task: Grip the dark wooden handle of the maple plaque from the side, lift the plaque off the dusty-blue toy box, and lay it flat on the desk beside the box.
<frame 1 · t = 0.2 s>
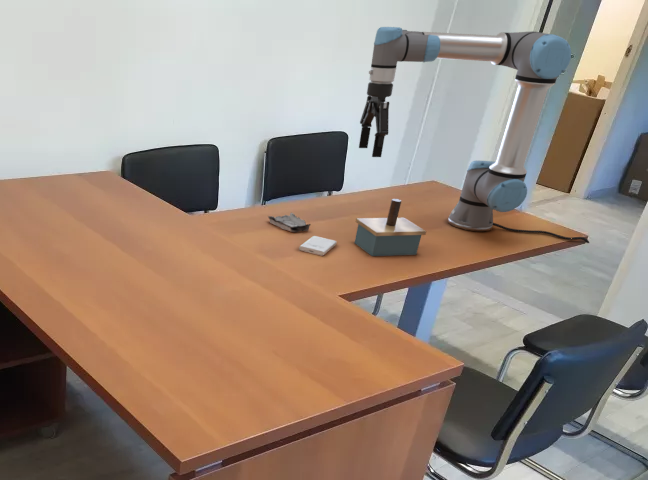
hand: (369, 152, 230), 27 cm above the table, tool pointing down, fingers open, 13 cm apart
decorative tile: (288, 227, 246), on the table
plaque: (389, 228, 228), point 7 cm above the table, touching toy box
hard drive: (317, 248, 229), on the table
toy box: (384, 248, 232), on the table
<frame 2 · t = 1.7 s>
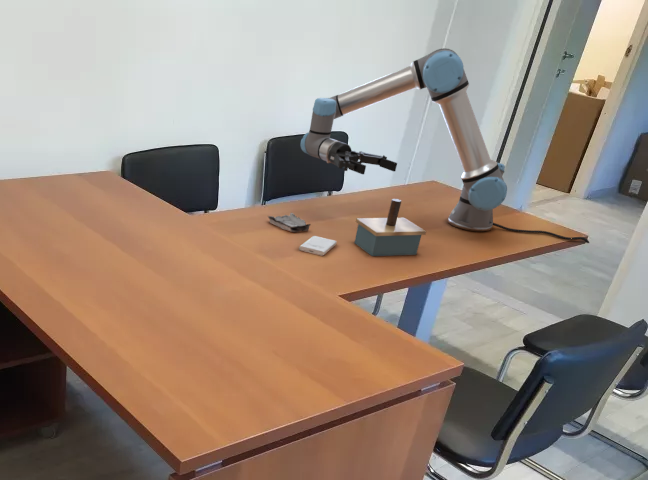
hand: (380, 168, 227), 24 cm above the table, tool horizontal, fingers open, 13 cm apart
nothing on the table moved.
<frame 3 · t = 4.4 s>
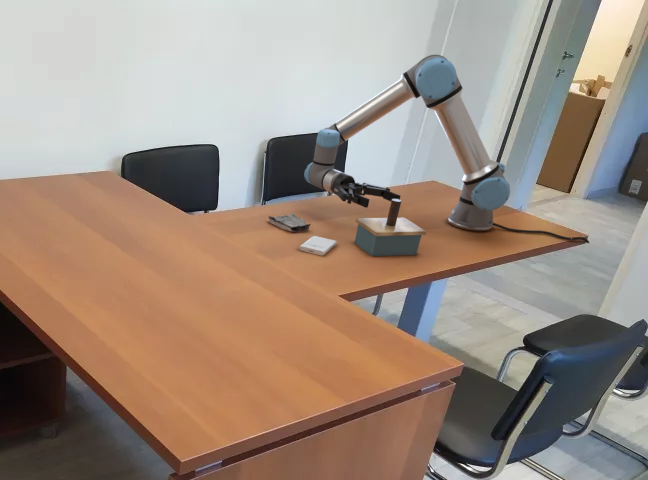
hand: (383, 201, 228), 14 cm above the table, tool horizontal, fingers open, 13 cm apart
nothing on the table moved.
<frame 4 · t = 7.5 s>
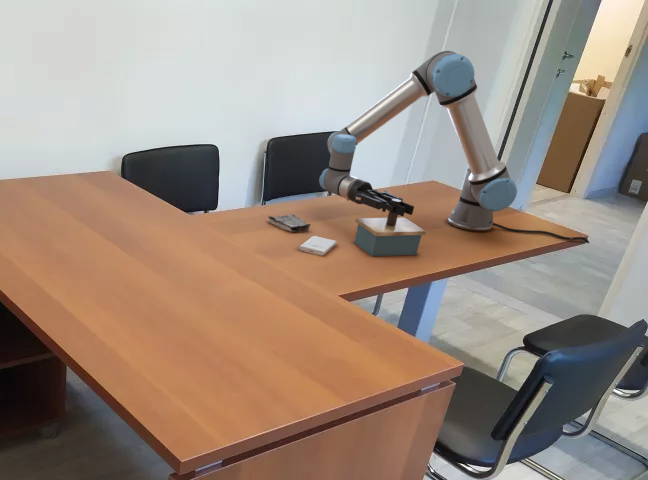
hand: (407, 211, 220), 14 cm above the table, tool horizontal, fingers closed on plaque, 3 cm apart
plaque: (389, 228, 228), point 7 cm above the table, touching gripper, toy box
everything else where it was.
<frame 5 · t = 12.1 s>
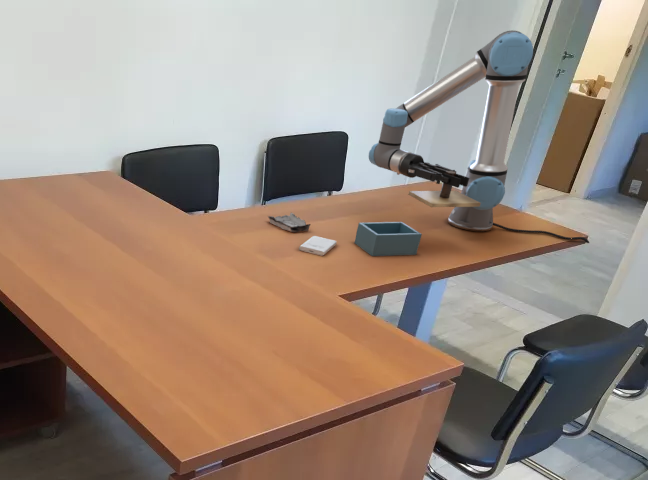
hand: (463, 182, 222), 23 cm above the table, tool horizontal, fingers closed on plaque, 3 cm apart
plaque: (443, 200, 229), point 15 cm above the table, touching gripper
everything else where it was.
when the fingers open (7 cm above the table, at t = 16.8 s): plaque stays where it is, on the table.
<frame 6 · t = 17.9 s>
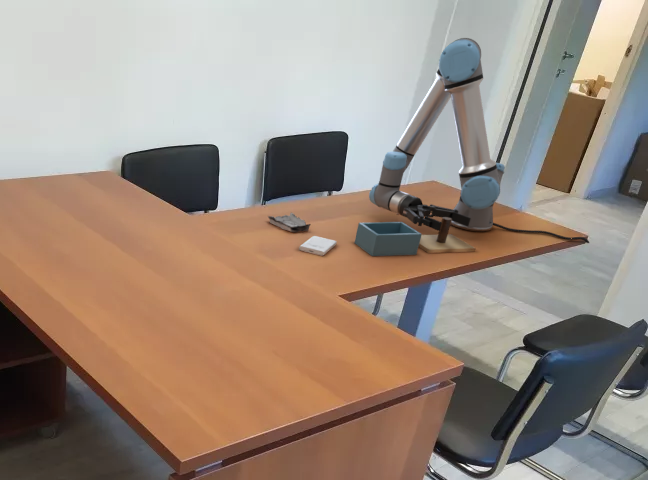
hand: (454, 224, 232), 8 cm above the table, tool horizontal, fingers open, 13 cm apart
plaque: (439, 244, 238), on the table
everything else where it was.
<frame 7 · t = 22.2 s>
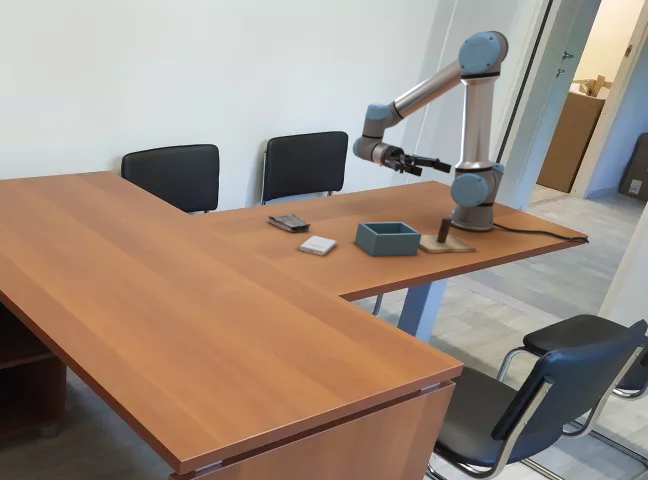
hand: (435, 170, 234), 22 cm above the table, tool horizontal, fingers open, 13 cm apart
nothing on the table moved.
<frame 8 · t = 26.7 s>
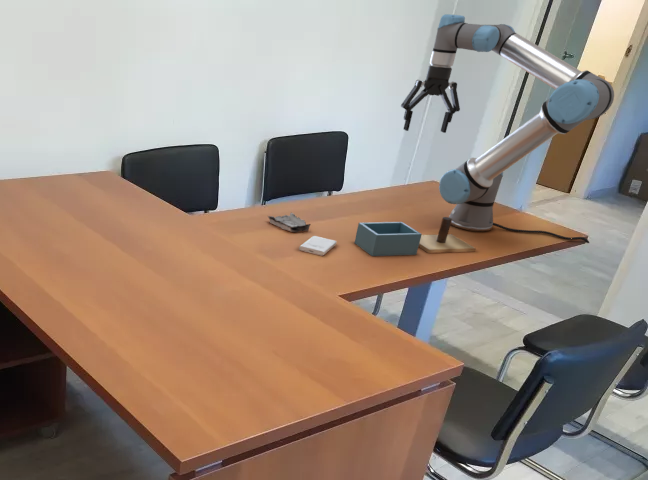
hand: (424, 131, 249), 31 cm above the table, tool pointing down, fingers open, 13 cm apart
nothing on the table moved.
at the end: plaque inside the target area (0.2 cm from its centre), on the table; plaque tilted 0°; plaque touching table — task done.
